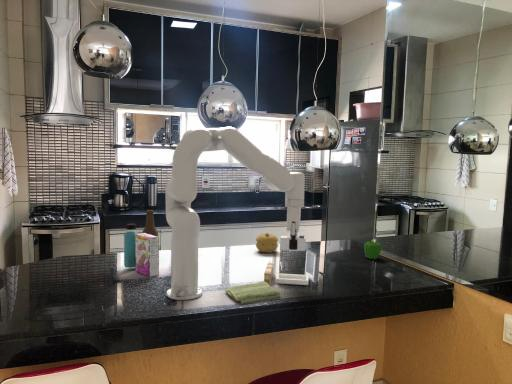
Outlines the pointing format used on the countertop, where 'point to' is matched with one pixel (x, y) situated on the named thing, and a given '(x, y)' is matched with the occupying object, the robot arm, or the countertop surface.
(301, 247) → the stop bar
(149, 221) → the beer bottle
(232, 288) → the washcloth
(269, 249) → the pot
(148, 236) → the candy bar box
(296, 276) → the bracket
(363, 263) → the countertop surface
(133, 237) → the beverage bottle
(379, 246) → the bell pepper
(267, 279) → the rail
